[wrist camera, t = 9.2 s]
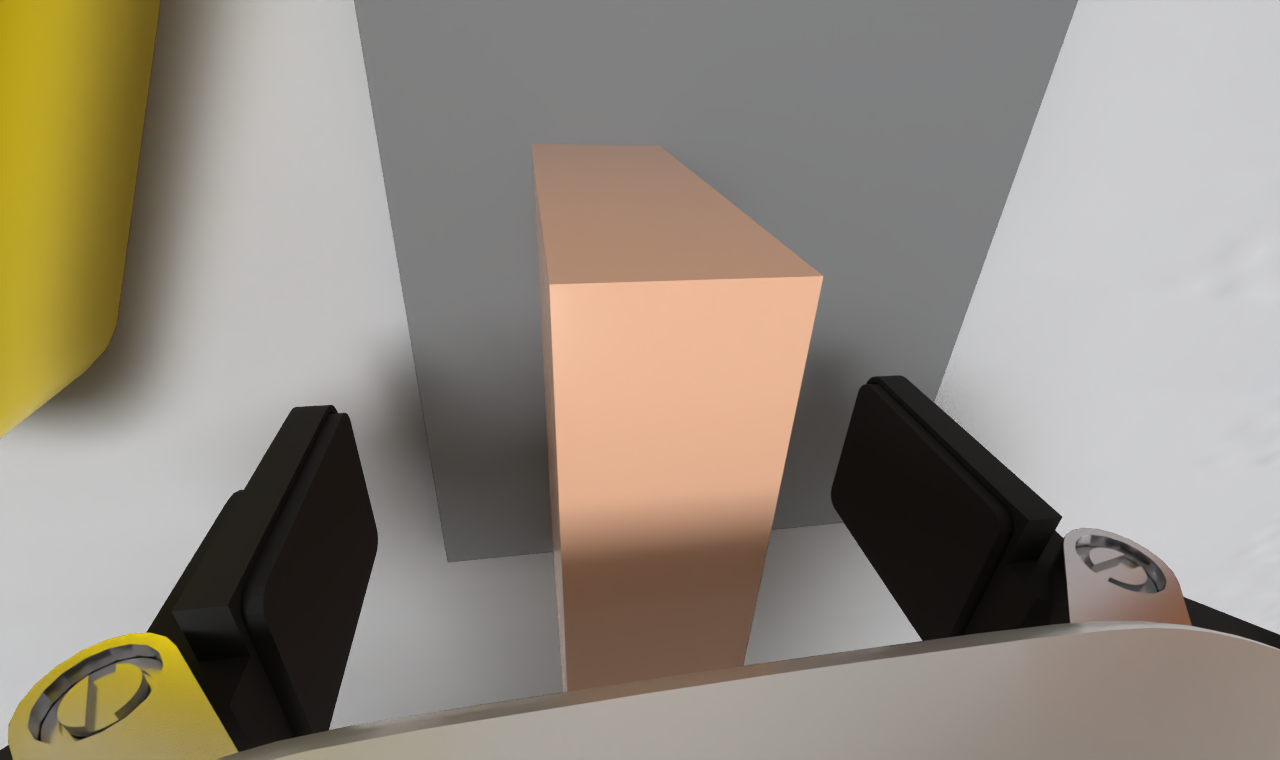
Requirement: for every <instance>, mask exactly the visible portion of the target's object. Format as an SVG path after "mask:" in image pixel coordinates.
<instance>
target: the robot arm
mask: <svg viewBox="0 0 1280 760" xmlns="http://www.w3.org/2000/svg"><path fill="white" fill-rule="evenodd" d="M831 501H832V504H833V507H834V508H835V510H836V512H837V513H838V515H839V516H840V518H841V519H842V521H843V522H844V524H845V525H846V527H847V528H848V530H849V531H850V533H851V534H852V536H853V537H854V539H855V540H856V542H857V543H858V545H859V546H860V548H861V549H862V551H863V552H864V554H865V555H866V557H867V558H868V560H869V561H870V563H871V564H872V566H873V567H874V569H875V570H876V572H877V573H878V575H879V576H880V578H881V579H882V581H883V582H884V584H885V585H886V587H887V588H888V590H889V591H890V593H891V594H892V596H893V597H894V599H895V600H896V602H897V603H898V605H899V606H900V608H901V609H902V611H903V612H904V614H905V615H906V617H907V618H908V620H909V621H910V623H911V624H912V626H913V627H914V629H915V630H916V632H917V633H918V635H919V636H920V638H921V639H922V641H919V642H912V643H905V644H897V645H890V646H883V647H876V648H868V649H861V650H854V651H846V652H839V653H832V654H825V655H818V656H811V657H804V658H797V659H790V660H783V661H776V662H769V663H762V664H755V665H748V666H741V667H734V668H727V669H720V670H713V671H706V672H699V673H692V674H685V675H678V676H671V677H664V678H657V679H651V680H644V681H637V682H630V683H623V684H617V685H610V686H603V687H597V688H590V689H583V690H576V691H570V692H563V693H556V694H550V695H543V696H536V697H529V698H523V699H516V700H509V701H503V702H496V703H489V704H483V705H476V706H469V707H463V708H457V709H451V710H445V711H439V712H433V713H427V714H421V715H415V716H409V717H403V718H397V719H390V720H384V721H378V722H372V723H366V724H360V725H354V726H348V727H343V728H338V729H333V730H329V727H330V723H331V720H332V716H333V712H334V708H335V705H336V701H337V697H338V694H339V690H340V686H341V682H342V679H343V675H344V671H345V668H346V664H347V660H348V656H349V653H350V649H351V645H352V642H353V638H354V634H355V630H356V627H357V623H358V619H359V616H360V612H361V608H362V604H363V601H364V597H365V593H366V589H367V586H368V582H369V578H370V575H371V571H372V567H373V563H374V560H375V556H376V552H377V545H378V534H377V528H376V524H375V520H374V516H373V512H372V508H371V503H370V499H369V495H368V491H367V487H366V483H365V479H364V475H363V471H362V466H361V462H360V458H359V454H358V450H357V446H356V442H355V438H354V434H353V430H352V425H351V421H350V418H349V416H348V414H346V413H337V410H336V409H335V407H334V406H332V405H324V406H305V407H295V408H293V409H292V410H291V412H290V413H289V415H288V417H287V418H286V420H285V422H284V423H283V425H282V427H281V428H280V430H279V432H278V433H277V435H276V437H275V438H274V440H273V442H272V443H271V445H270V447H269V448H268V450H267V452H266V454H265V455H264V457H263V459H262V460H261V462H260V464H259V465H258V467H257V469H256V470H255V472H254V474H253V475H252V477H251V479H250V480H249V482H248V484H247V485H246V487H245V489H244V490H239V491H237V492H235V493H234V494H233V495H232V496H231V497H230V498H229V500H228V501H227V503H226V504H225V506H224V507H223V509H222V511H221V512H220V514H219V516H218V517H217V519H216V520H215V522H214V524H213V525H212V527H211V529H210V530H209V532H208V533H207V535H206V537H205V538H204V540H203V542H202V543H201V545H200V546H199V548H198V550H197V551H196V553H195V554H194V556H193V558H192V559H191V561H190V563H189V564H188V566H187V567H186V569H185V571H184V572H183V574H182V576H181V577H180V579H179V580H178V582H177V584H176V585H175V587H174V589H173V590H172V592H171V593H170V595H169V597H168V598H167V600H166V602H165V603H164V605H163V606H162V608H161V610H160V611H159V613H158V615H157V616H156V618H155V619H154V621H153V623H152V624H151V626H150V628H149V629H148V631H147V632H146V633H135V634H127V635H123V636H119V637H116V638H112V639H108V640H105V641H103V642H100V643H98V644H96V645H94V646H91V647H89V648H87V649H85V650H82V651H80V652H79V653H77V654H76V655H74V656H72V657H71V658H69V659H68V660H66V661H64V662H63V663H61V664H59V665H58V666H56V667H55V668H54V669H53V670H52V671H50V672H49V673H48V674H47V675H46V676H45V677H43V678H42V679H41V680H40V681H39V682H37V683H36V684H35V685H34V686H33V688H32V689H31V690H30V691H29V692H28V694H27V695H26V696H25V697H24V698H23V700H22V701H21V702H20V703H19V704H18V706H17V708H16V710H15V712H14V715H13V717H12V719H11V721H10V723H9V729H8V744H9V745H8V746H6V747H5V748H3V749H1V750H0V760H1280V635H1279V634H1276V633H1274V632H1271V631H1269V630H1266V629H1263V628H1261V627H1258V626H1256V625H1253V624H1251V623H1248V622H1246V621H1243V620H1241V619H1238V618H1236V617H1233V616H1231V615H1228V614H1225V613H1223V612H1220V611H1218V610H1215V609H1213V608H1210V607H1208V606H1205V605H1203V604H1200V603H1198V602H1195V601H1192V600H1190V599H1187V598H1185V597H1183V594H1182V591H1181V588H1180V584H1179V582H1178V580H1177V578H1176V576H1175V575H1174V573H1173V571H1172V570H1171V569H1170V568H1169V567H1168V566H1167V565H1166V564H1165V563H1164V562H1163V561H1162V560H1161V559H1160V558H1158V557H1157V556H1156V555H1154V554H1153V553H1152V552H1150V551H1149V550H1148V549H1146V548H1144V547H1142V546H1141V545H1139V544H1137V543H1135V542H1134V541H1132V540H1130V539H1127V538H1125V537H1122V536H1120V535H1117V534H1115V533H1112V532H1108V531H1104V530H1100V529H1092V528H1080V529H1075V530H1072V531H1070V532H1069V533H1068V534H1066V535H1065V537H1064V538H1063V537H1061V536H1060V535H1059V534H1058V533H1057V532H1056V531H1055V529H1056V527H1057V526H1058V524H1059V522H1060V520H1061V518H1062V516H1061V515H1060V514H1059V513H1057V512H1056V511H1055V510H1054V509H1053V508H1052V507H1051V506H1050V505H1048V504H1047V503H1046V502H1045V501H1044V500H1043V499H1042V498H1041V497H1039V496H1038V495H1037V494H1036V493H1035V492H1034V491H1033V490H1032V489H1030V488H1029V487H1028V486H1027V485H1026V484H1025V483H1024V482H1023V481H1021V480H1020V479H1019V478H1018V477H1017V476H1016V475H1015V474H1014V473H1012V472H1011V471H1010V470H1009V469H1008V468H1007V467H1006V466H1005V465H1003V464H1002V463H1001V462H1000V461H999V460H998V459H997V458H996V457H994V456H993V455H992V454H991V453H990V452H989V451H988V450H987V449H985V448H984V447H983V446H982V445H981V444H980V443H979V442H978V441H976V440H975V439H974V438H973V437H972V436H971V435H970V434H969V433H967V432H966V431H965V430H964V429H963V428H962V427H961V426H960V425H958V424H957V423H956V422H955V421H954V420H953V419H952V418H951V417H949V416H948V415H947V414H946V413H945V412H944V411H943V410H942V409H940V408H939V407H938V406H937V405H936V404H935V403H934V402H933V401H931V400H930V399H929V398H928V397H927V396H926V395H925V394H924V393H922V392H921V391H920V390H919V389H918V388H917V387H916V386H915V385H913V384H912V383H911V382H910V381H909V380H908V379H907V378H905V377H904V376H900V375H895V376H876V377H872V378H870V379H869V380H868V381H867V383H866V384H864V385H862V386H861V387H860V389H859V391H858V394H857V398H856V402H855V405H854V409H853V412H852V416H851V420H850V423H849V427H848V430H847V434H846V438H845V441H844V445H843V448H842V452H841V456H840V459H839V463H838V466H837V470H836V474H835V477H834V481H833V484H832V488H831Z"/></svg>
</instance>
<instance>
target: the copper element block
mask: <svg viewBox="0 0 1280 760" xmlns="http://www.w3.org/2000/svg"><path fill="white" fill-rule="evenodd" d="M159 7H160V0H0V438H2V437H3V436H4V435H6V434H7V433H8V432H9V431H11V430H12V429H13V428H14V427H16V426H17V425H18V424H19V423H21V422H22V421H23V420H24V419H26V418H27V417H28V416H30V415H31V414H32V413H33V412H35V411H36V410H37V409H38V408H40V407H41V406H42V405H43V404H45V403H46V402H47V401H48V400H50V399H51V398H52V397H54V396H55V395H56V394H57V393H59V392H60V391H61V390H62V389H64V388H65V387H66V386H67V385H69V384H70V383H71V382H72V381H74V380H75V379H76V378H78V377H79V376H80V375H81V374H83V373H84V372H85V371H86V370H87V369H88V368H89V367H90V366H91V365H92V364H93V363H94V361H95V360H96V359H97V358H98V357H99V356H100V355H101V354H102V353H103V352H104V351H105V350H106V348H107V347H108V345H109V342H110V340H111V337H112V335H113V332H114V330H115V327H116V325H117V319H118V311H119V304H120V296H121V289H122V282H123V274H124V267H125V259H126V252H127V245H128V237H129V230H130V222H131V215H132V208H133V200H134V193H135V185H136V178H137V170H138V163H139V156H140V148H141V141H142V133H143V126H144V119H145V111H146V104H147V96H148V89H149V82H150V74H151V67H152V59H153V52H154V45H155V37H156V30H157V22H158V15H159Z"/></svg>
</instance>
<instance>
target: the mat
mask: <svg viewBox="0 0 1280 760" xmlns="http://www.w3.org/2000/svg"><path fill="white" fill-rule="evenodd" d="M1077 2H1078V0H354V3H355V9H356V15H357V21H358V27H359V33H360V39H361V45H362V51H363V57H364V63H365V69H366V75H367V81H368V87H369V93H370V99H371V105H372V111H373V117H374V123H375V129H376V135H377V141H378V147H379V153H380V159H381V165H382V171H383V177H384V183H385V189H386V195H387V201H388V207H389V213H390V219H391V225H392V231H393V237H394V243H395V249H396V255H397V261H398V267H399V273H400V279H401V285H402V291H403V297H404V303H405V309H406V315H407V321H408V327H409V333H410V339H411V345H412V351H413V357H414V363H415V369H416V375H417V381H418V387H419V393H420V399H421V405H422V411H423V417H424V423H425V429H426V435H427V441H428V447H429V453H430V459H431V465H432V471H433V477H434V483H435V489H436V495H437V501H438V507H439V513H440V519H441V525H442V531H443V537H444V543H445V549H446V555H447V561H448V562H456V561H466V560H476V559H486V558H496V557H506V556H515V555H525V554H535V553H545V552H553V541H552V522H551V504H550V485H549V466H548V448H547V429H546V411H545V392H544V373H543V355H542V336H541V317H540V299H539V280H538V261H537V243H536V224H535V206H534V187H533V168H532V150H531V144H561V145H657V146H661V147H662V148H663V149H665V150H666V151H667V152H668V153H670V154H671V155H672V156H673V157H675V158H676V159H677V160H678V161H680V162H681V163H682V164H683V165H685V166H686V167H687V168H688V169H690V170H691V171H692V172H694V173H695V174H696V175H697V176H699V177H700V178H701V179H702V180H704V181H705V182H706V183H707V184H709V185H710V186H711V187H712V188H714V189H715V190H716V191H717V192H719V193H720V194H721V195H722V196H724V197H725V198H726V199H727V200H729V201H730V202H731V203H732V204H734V205H735V206H736V207H737V208H739V209H740V210H741V211H742V212H744V213H745V214H746V215H747V216H749V217H750V218H751V219H752V220H754V221H755V222H756V223H757V224H759V225H760V226H761V227H762V228H764V229H765V230H766V231H768V232H769V233H770V234H771V235H773V236H774V237H775V238H776V239H778V240H779V241H780V242H781V243H783V244H784V245H785V246H786V247H788V248H789V249H790V250H791V251H793V252H794V253H795V254H796V255H798V256H799V257H800V258H801V259H803V260H804V261H805V262H806V263H808V264H809V265H810V266H811V267H813V268H814V269H815V270H816V271H818V272H819V273H820V274H821V275H823V281H822V286H821V291H820V295H819V300H818V305H817V310H816V315H815V320H814V325H813V329H812V334H811V339H810V344H809V349H808V354H807V359H806V363H805V368H804V373H803V378H802V383H801V388H800V393H799V397H798V402H797V407H796V412H795V417H794V422H793V426H792V431H791V436H790V441H789V446H788V451H787V456H786V460H785V465H784V470H783V475H782V480H781V485H780V490H779V494H778V499H777V504H776V509H775V514H774V519H773V524H772V528H771V530H774V529H784V528H794V527H804V526H814V525H824V524H834V523H844V522H843V521H842V519H841V518H840V516H839V515H838V513H837V512H836V510H835V508H834V507H833V504H832V501H831V488H832V484H833V481H834V477H835V474H836V470H837V466H838V463H839V459H840V456H841V452H842V448H843V445H844V441H845V438H846V434H847V430H848V427H849V423H850V420H851V416H852V412H853V409H854V405H855V402H856V398H857V394H858V391H859V389H860V387H861V386H862V385H864V384H866V383H867V381H868V380H869V379H870V378H872V377H876V376H895V375H900V376H904V377H905V378H907V379H908V380H909V381H910V382H911V383H912V384H913V385H915V386H916V387H917V388H918V389H919V390H920V391H921V392H922V393H924V394H925V395H926V396H927V397H928V398H929V399H930V400H931V401H933V402H934V401H935V398H936V395H937V393H938V390H939V387H940V384H941V381H942V379H943V376H944V373H945V370H946V367H947V365H948V362H949V359H950V356H951V353H952V351H953V348H954V345H955V342H956V339H957V337H958V334H959V331H960V328H961V326H962V323H963V320H964V317H965V314H966V312H967V309H968V306H969V303H970V300H971V298H972V295H973V292H974V289H975V286H976V284H977V281H978V278H979V275H980V273H981V270H982V267H983V264H984V261H985V259H986V256H987V253H988V250H989V247H990V245H991V242H992V239H993V236H994V233H995V231H996V228H997V225H998V222H999V220H1000V217H1001V214H1002V211H1003V208H1004V206H1005V203H1006V200H1007V197H1008V194H1009V192H1010V189H1011V186H1012V183H1013V180H1014V178H1015V175H1016V172H1017V169H1018V167H1019V164H1020V161H1021V158H1022V155H1023V153H1024V150H1025V147H1026V144H1027V141H1028V139H1029V136H1030V133H1031V130H1032V127H1033V125H1034V122H1035V119H1036V116H1037V114H1038V111H1039V108H1040V105H1041V102H1042V100H1043V97H1044V94H1045V91H1046V88H1047V86H1048V83H1049V80H1050V77H1051V74H1052V72H1053V69H1054V66H1055V63H1056V61H1057V58H1058V55H1059V52H1060V49H1061V47H1062V44H1063V41H1064V38H1065V35H1066V33H1067V30H1068V27H1069V24H1070V21H1071V19H1072V16H1073V13H1074V10H1075V8H1076V5H1077Z"/></svg>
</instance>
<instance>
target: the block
mask: <svg viewBox="0 0 1280 760" xmlns="http://www.w3.org/2000/svg"><path fill="white" fill-rule="evenodd" d="M531 150H532V168H533V187H534V206H535V224H536V243H537V261H538V280H539V299H540V317H541V336H542V355H543V373H544V392H545V411H546V429H547V448H548V466H549V485H550V504H551V522H552V541H553V555H554V569H555V583H556V598H557V612H558V626H559V640H560V654H561V668H562V683H563V692H570V691H576V690H583V689H590V688H597V687H603V686H610V685H617V684H623V683H630V682H637V681H644V680H651V679H657V678H664V677H671V676H678V675H685V674H692V673H699V672H706V671H713V670H720V669H727V668H734V667H741V666H743V664H744V660H745V655H746V650H747V645H748V640H749V635H750V630H751V626H752V621H753V616H754V611H755V606H756V601H757V596H758V592H759V587H760V582H761V577H762V572H763V567H764V562H765V558H766V553H767V548H768V543H769V538H770V533H771V528H772V524H773V519H774V514H775V509H776V504H777V499H778V494H779V490H780V485H781V480H782V475H783V470H784V465H785V460H786V456H787V451H788V446H789V441H790V436H791V431H792V426H793V422H794V417H795V412H796V407H797V402H798V397H799V393H800V388H801V383H802V378H803V373H804V368H805V363H806V359H807V354H808V349H809V344H810V339H811V334H812V329H813V325H814V320H815V315H816V310H817V305H818V300H819V295H820V291H821V286H822V281H823V275H821V274H820V273H819V272H818V271H816V270H815V269H814V268H813V267H811V266H810V265H809V264H808V263H806V262H805V261H804V260H803V259H801V258H800V257H799V256H798V255H796V254H795V253H794V252H793V251H791V250H790V249H789V248H788V247H786V246H785V245H784V244H783V243H781V242H780V241H779V240H778V239H776V238H775V237H774V236H773V235H771V234H770V233H769V232H768V231H766V230H765V229H764V228H762V227H761V226H760V225H759V224H757V223H756V222H755V221H754V220H752V219H751V218H750V217H749V216H747V215H746V214H745V213H744V212H742V211H741V210H740V209H739V208H737V207H736V206H735V205H734V204H732V203H731V202H730V201H729V200H727V199H726V198H725V197H724V196H722V195H721V194H720V193H719V192H717V191H716V190H715V189H714V188H712V187H711V186H710V185H709V184H707V183H706V182H705V181H704V180H702V179H701V178H700V177H699V176H697V175H696V174H695V173H694V172H692V171H691V170H690V169H688V168H687V167H686V166H685V165H683V164H682V163H681V162H680V161H678V160H677V159H676V158H675V157H673V156H672V155H671V154H670V153H668V152H667V151H666V150H665V149H663V148H662V147H661V146H657V145H561V144H531Z"/></svg>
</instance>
